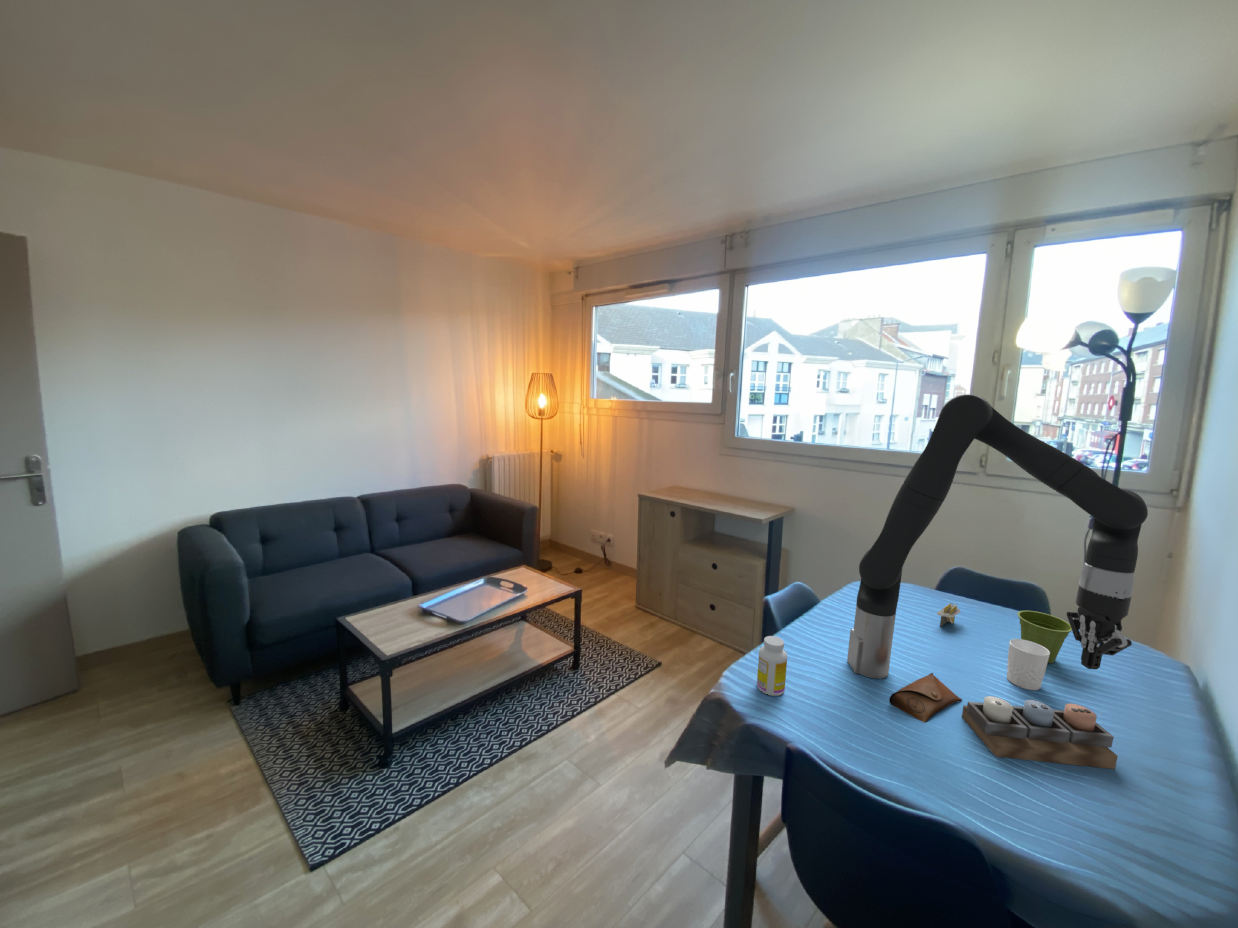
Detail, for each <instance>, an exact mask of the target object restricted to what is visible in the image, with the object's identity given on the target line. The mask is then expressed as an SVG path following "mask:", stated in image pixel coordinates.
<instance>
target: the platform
mask: <svg viewBox="0 0 1238 928" xmlns="http://www.w3.org/2000/svg"><path fill="white" fill-rule="evenodd" d="M960 613H961V609H959V608H958V605H957V604H956V603H952V602H950V603H949V604H947V605H946V606H944V607H943V608H942V609H940V610H939V611H937V612H936V615H937V616H940V621H939V622H940V623H939V627H940V628H941V627H943V626H944V625H945V624H947V623H950V624H954V623H955V619H956V616H957V615H959V614H960Z"/></svg>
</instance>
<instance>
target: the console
mask: <svg viewBox="0 0 1238 928" xmlns="http://www.w3.org/2000/svg"><path fill="white" fill-rule="evenodd" d="M983 704H984V702H975V701H967V705H966V704H965V705H964V704H963V706H962V707H963V708H962V711H961V712H962V713H961V718H962V720H964V722H965V723H966V724H967V725H968V726H969V727H970V729H971V730H972V731H973V732H974V734H976V735H977V737H978V738H979V739H980V740H981V741H982V743H983V744H984V745H985V746H986V747H987V748H988V749H989V751H990V752H991V753H992V755H993V756H995V757H996V758H997V757H998V758H1007V759H1015V760H1016V759H1017V760H1025V761H1034V762H1035V761H1036V762H1045V763H1053V764H1064V765H1075V766H1082V767H1083V766H1084V767H1093V768H1101V769H1110V770H1111V769H1112V770H1115V769H1116V765H1117V760H1118V757H1119V755H1118V754H1116V753H1115V752H1114V751H1113V750H1112V749H1111V748H1112V747H1113V743H1114V737H1115V736H1113V735H1112V734H1111V733H1110V732H1109V731H1108V730H1106V729H1105V728H1104V727H1103V726H1101V725H1100V724H1098V723H1097V722H1096V723H1095V728H1094V731H1093V732H1086V731H1081V730H1078V729H1076V728H1073V727H1071V726H1070V725H1068V724H1067V723H1066V722H1065V721H1064V720H1063V715H1064V710H1065V709H1063V710H1062V709H1061V710H1060V709H1053V710H1054V717H1053V723H1052V727H1050V728H1045V727H1039V726H1036V725H1034V724H1032V723H1030V722H1028V721H1027V720H1025V719H1024V718H1023V716H1022V713H1023V708H1024V706H1020V705H1019V706H1018V705H1011V706H1012V707H1013V710H1012V716H1011V721H1010V723H1008V724H1004V723H998V722H995V721H993V720H991V719H989V718H987V717H986V716H985V715H984V714H983V712H982V710H983Z"/></svg>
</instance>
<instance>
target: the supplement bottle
mask: <svg viewBox="0 0 1238 928" xmlns="http://www.w3.org/2000/svg"><path fill="white" fill-rule="evenodd" d="M787 665H788V654H787V652H786V651H785V641H784V640H783V639H782V638H781V637H778V636H774V635H768V636H765V637H764V638H763V646H761V647H760V649H759V650H758V664H757V675H756V676H757V678H756V686H757V688H758V690H759V691H760V692H761V691H762V692H761V693H763V694H765V695H767V694H768V696H770V697H777V696H781V695H782V694H784V693H785V690H786V679H787V667H788V666H787Z"/></svg>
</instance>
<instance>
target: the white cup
mask: <svg viewBox="0 0 1238 928" xmlns="http://www.w3.org/2000/svg"><path fill="white" fill-rule="evenodd" d="M1008 643H1009V646H1008V655H1007V667H1006V668H1007V671H1006V679H1007V680H1008V681H1009V682H1010V683H1011V684H1013V685H1015V686H1016V687H1019V688H1021V689H1024V690H1029V691H1038V690H1041V688H1042V683H1043V680H1044V677H1045V674H1046V671H1047V667H1048V659H1049V655H1050V652H1049V650H1048V649H1046V648H1045V647H1043V646H1041V645H1039V644H1037V643H1034V642H1031V641H1027V640H1022V639H1021V638H1012V639H1010V640H1009V642H1008Z"/></svg>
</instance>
